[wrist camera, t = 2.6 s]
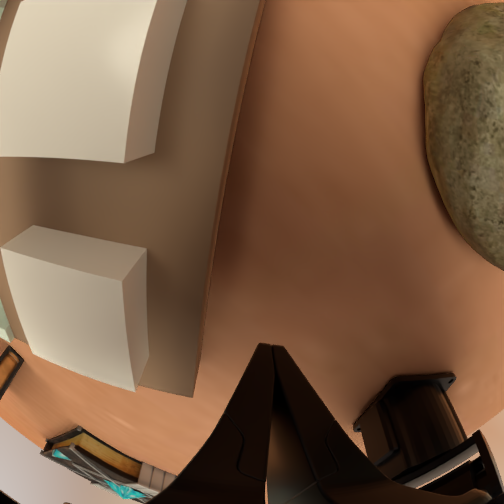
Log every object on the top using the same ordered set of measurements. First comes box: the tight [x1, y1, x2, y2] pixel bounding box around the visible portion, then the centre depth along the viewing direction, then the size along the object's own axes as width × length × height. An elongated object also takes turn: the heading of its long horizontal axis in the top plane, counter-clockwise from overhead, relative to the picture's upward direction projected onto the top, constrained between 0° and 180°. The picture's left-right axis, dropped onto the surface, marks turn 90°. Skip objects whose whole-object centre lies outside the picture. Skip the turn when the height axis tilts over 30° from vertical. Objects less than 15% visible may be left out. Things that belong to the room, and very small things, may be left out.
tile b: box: [0, 0, 187, 163], centre depth 5 cm, size 5×5×2 cm
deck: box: [0, 0, 266, 398], centre depth 9 cm, size 11×18×2 cm, turn 169°
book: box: [40, 426, 177, 504], centre depth 24 cm, size 22×17×5 cm
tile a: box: [0, 225, 149, 392], centre depth 8 cm, size 5×5×2 cm
